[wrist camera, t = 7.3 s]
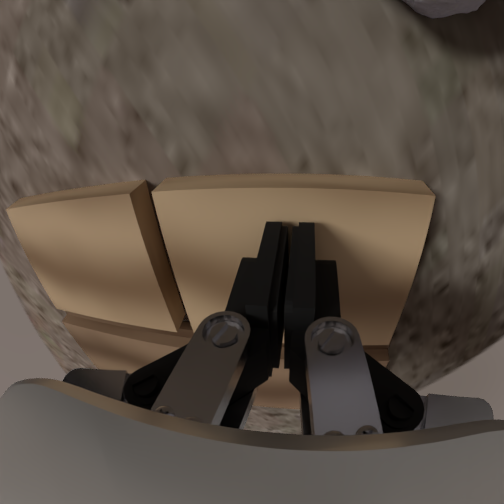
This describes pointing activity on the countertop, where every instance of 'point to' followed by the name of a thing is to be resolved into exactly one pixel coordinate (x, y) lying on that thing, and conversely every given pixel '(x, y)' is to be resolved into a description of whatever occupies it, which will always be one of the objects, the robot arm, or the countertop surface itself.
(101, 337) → the wooden board
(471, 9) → the stone block
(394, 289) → the plank
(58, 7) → the countertop surface
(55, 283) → the plank
